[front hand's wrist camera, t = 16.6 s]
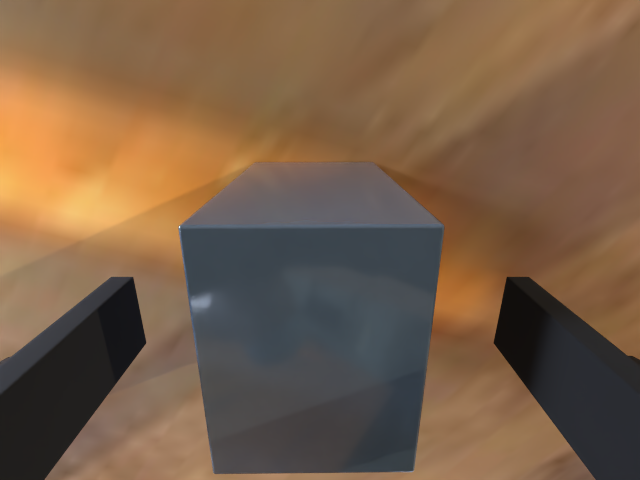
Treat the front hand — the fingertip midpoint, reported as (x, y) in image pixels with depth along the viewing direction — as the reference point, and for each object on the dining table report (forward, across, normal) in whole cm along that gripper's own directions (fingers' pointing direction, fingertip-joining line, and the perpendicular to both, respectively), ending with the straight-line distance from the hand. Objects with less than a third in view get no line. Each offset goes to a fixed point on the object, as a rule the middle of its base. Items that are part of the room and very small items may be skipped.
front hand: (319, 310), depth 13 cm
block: (+8, 0, 0) cm, 8 cm away
